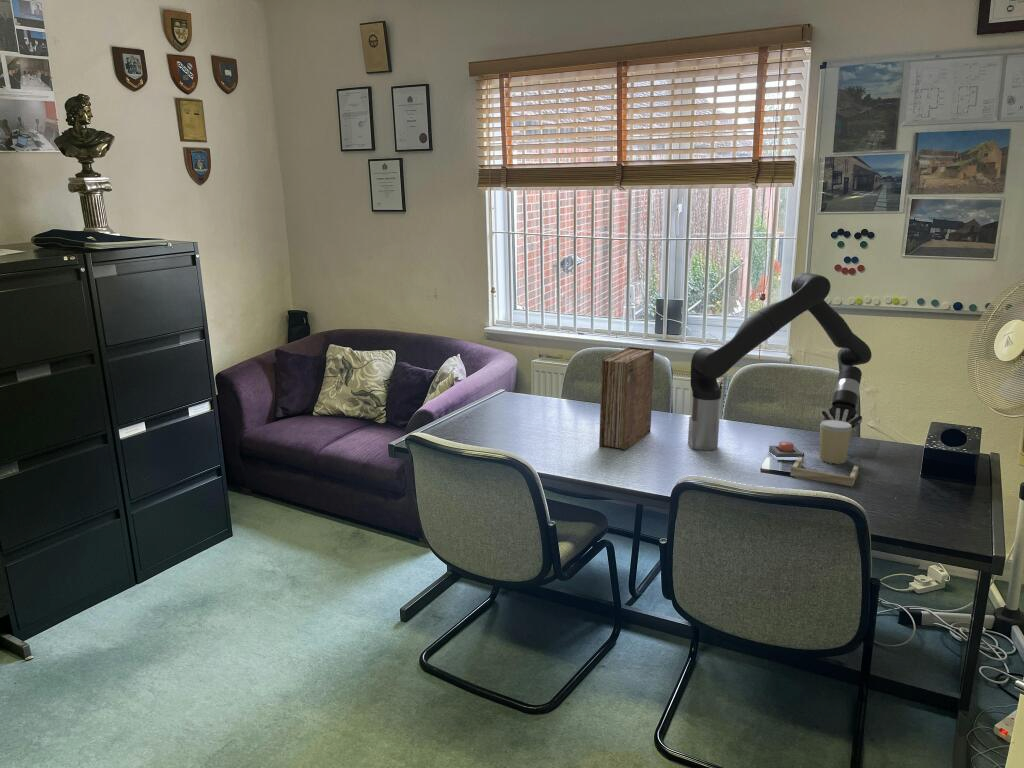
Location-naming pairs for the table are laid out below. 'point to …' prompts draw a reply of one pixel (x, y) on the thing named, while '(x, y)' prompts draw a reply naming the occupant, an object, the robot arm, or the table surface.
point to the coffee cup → (834, 441)
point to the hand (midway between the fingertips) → (837, 439)
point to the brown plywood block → (626, 397)
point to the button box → (777, 453)
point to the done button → (786, 446)
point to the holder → (823, 474)
